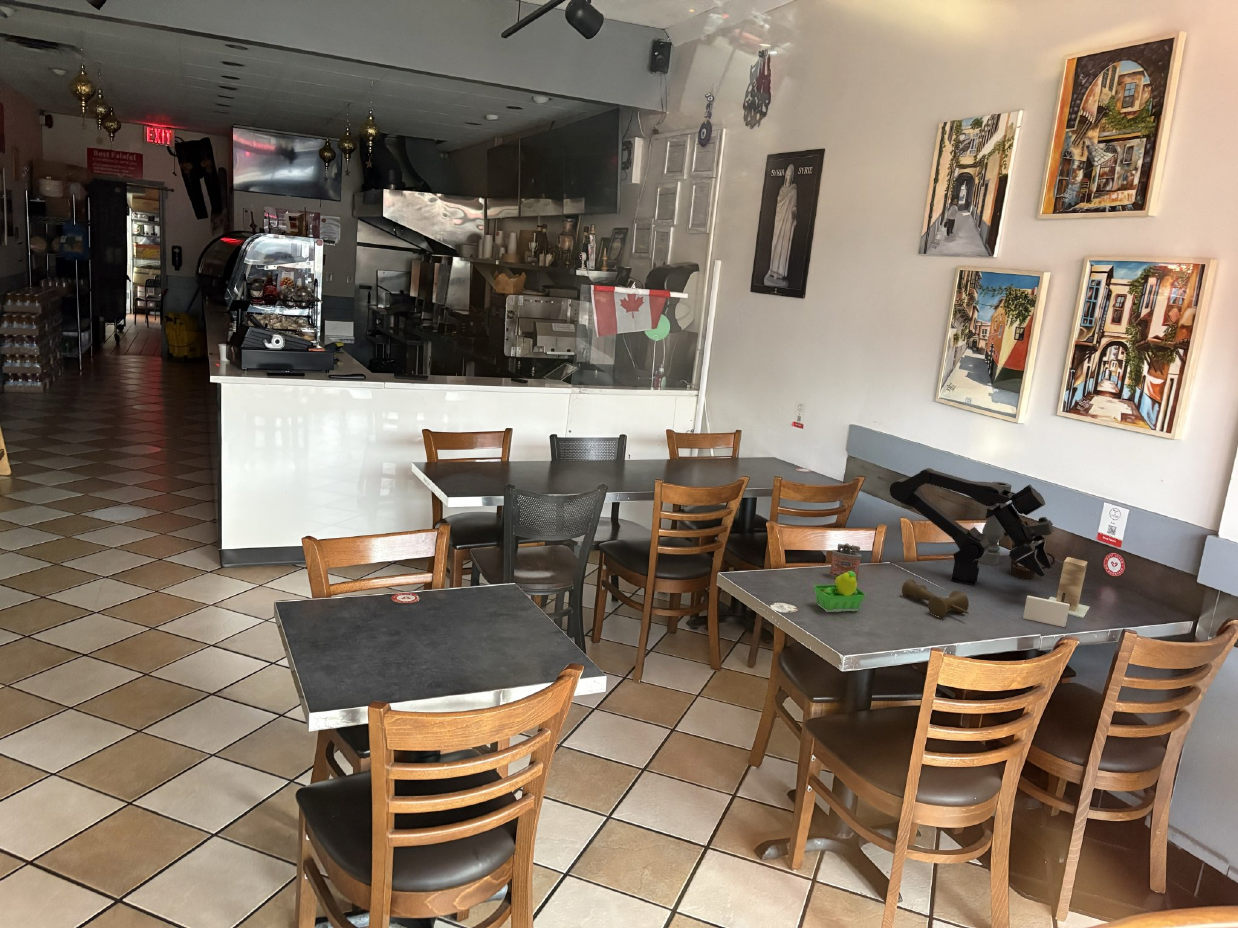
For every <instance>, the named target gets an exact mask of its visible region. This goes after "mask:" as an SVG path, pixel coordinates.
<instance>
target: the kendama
mask: <svg viewBox="0 0 1238 928" xmlns="http://www.w3.org/2000/svg"><path fill="white" fill-rule="evenodd" d="M901 594H902V596H903V597H905V596H906V597H905V598H910V597H912V598H914V600H916V601H917V602H918V601H919V602H920V601H922V600H923V601H928V603H927V607H928V611H929V613H930V614H931V613H932V614H934V615H936V616H939V617H941V618H944V616H945V615H946V614H947V612H950V611H953V612H954V613H957V612H958V613H957V614H969V611H968V609H969V606H970V605H969V604H970V603H969V597H968V596H967V594H966V593H965V592H964V591H963V592H962V590H958V589H957V590H953V591H952V592H951V593H950V594H949V596H948V597H947V598H943V597H941V596H936V594H933V593H932V592H930V591H929V590H928V589H927V587H926V585H922V584H921V585H919V584H918V583H917V582H916V581H915V580H914V579H912V578H910V579H906V581H905V582H904V583H903V585H902V587H901ZM932 614H931V615H932Z"/></svg>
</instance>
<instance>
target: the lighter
mask: <svg viewBox="0 0 1238 928" xmlns="http://www.w3.org/2000/svg"><path fill="white" fill-rule="evenodd" d="M857 552H861V546H859V545H853V544H852V545H850V544H849V543H844V544H843V543H838V544H837V549H832V552H831V554H832V556H831V557H832V558H831V562H830V570H829V573H828V576H829V577H830V578H832V579H836V578H837V577H838V576H840V575H842V574H844V573H847V572H848V571H852V572H854V573H855V574H856V582H858V581H859V573H860V564H861V559H862V558H863V557H862V554H861V553H857ZM857 580H858V581H857Z"/></svg>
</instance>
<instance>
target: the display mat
mask: <svg viewBox="0 0 1238 928" xmlns="http://www.w3.org/2000/svg"><path fill="white" fill-rule="evenodd" d="M1056 598H1057V597H1054V596H1049V598H1048V599H1047V600H1052V601H1056ZM1090 608H1091V607H1090V606H1088V605H1085V604H1084V605H1083V604H1081V603H1079V605H1078V607H1077V609H1076V611H1071V610H1069V611H1068V616H1069V615H1070V616H1073V617H1077V618H1081V619H1084V618H1085V615H1086V614H1087V613H1088V612H1089V609H1090Z"/></svg>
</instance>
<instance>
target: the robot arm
mask: <svg viewBox="0 0 1238 928" xmlns="http://www.w3.org/2000/svg"><path fill="white" fill-rule="evenodd" d="M927 484H928V485H932V486H935V487H939V488H942V489H944V490H949V491H952V492H954V493H959V494H962V495H965V496H968V497H969V498H971V499H972V500H974V501H976V502H977V503H979V504H981V505H982V506H986V507H988V508H987V509H986V514H985V516H984V517H985V519H986V520H987V519H988V518H989V517H991V516H994V517H995V518H996V520H997V521H998V523H999V524H1000V525H1001V527H1002V528H1003V536H1004V537H1008V539H1009V540H1010V541H1011V543H1012V542H1013V544H1014V545H1013V549H1012V548H1011V550H1010V551H1009V554H1008V557H1009V558H1010V560H1011V559H1012V561H1015V560H1016V561H1015V562H1016V563H1019V564H1021V565H1023V566H1024V567H1026V568H1028V569H1029V570H1031V571H1033V572H1034V573H1035V575H1037V576H1039V577H1044V576H1045V571H1044V569H1042V568H1041V567H1042V566H1041V565H1043V567H1046V568H1045V569H1047V570H1049V569H1052V565H1051V561H1050V559H1049V555H1047V553H1048V552H1047V551H1046V548H1045V547H1046V543H1047V536H1050V535H1052V534H1053V533H1054V531H1055V530H1054V528H1053V522H1052V521H1051V520H1050V519H1048V518H1047V517H1046V516H1042V517H1039V518H1038V521H1036V522H1034V523H1030V522H1029V521H1028V520H1027V519H1023V518H1022V517H1021V515H1024V516H1028V515H1030V514H1032V513H1033V512H1035V511H1037V510H1039V509H1040V508H1043V507H1044V506H1046V502H1045V498H1044V497H1043V496H1042V494H1041V493H1040V492H1039V491H1037V490H1036V489H1035V488H1034V487H1033V486H1032V484H1028V485H1026V486H1025V487H1023V489H1021V490H1019V491H1017V492H1013V491H1012V490H1011V491H1008V490H1005V489H1003V488H1002V486H1001V485H999V484H997V483H992V482H991V481H975V480H970V479H966V478H964V477H963V478H962V477H959V476H956V475H951V474H949V473H944V472H941V471H938V470H934V469H932V468H931V467H928V468H924V469H922V470H921V471H919V472H918V473H916V474H915V475H913V476H910V477H909V478H908V477H904V478H901V479H898V480H896V481H894V482H893V483H891V484H890V487H889V494H890V497H891V498H892V499H893V500H895V501H897V502H899V503H900V504H902V505H905V506H907V507H910V508H912V509H915V510H916V511H917V512H918V513H920V514H921V515H922V516H924V518H925V519H927V520H929V521H930V522H931V523H932V524H934V525H935V526H936V527H937V528H938V529H940V531H942V532H943V533H944V534H946V535H947V536H949V537H950V538H951V539H952V540H953V542H955V544H956V546H957V548H958V550H957V551H956V552H954V553H953V560H954V562H953V568H952V573H951V577H950V581H952V582H957V583H961V584H967V585H972V586H975V584H976V583H977V582H978V577H979V574H980V573H979V572H980V565H978V564H979V561H978V560H977V559H979V558H981V557H982V556H983V555H984V554H985V553H986V552H988V550H989V541H988V540H987V539H986V538H985V536H986V535H984V534H982V532H980V531H979V530H978V529H977V528H976V526H973V527H972V528H970V529H969V528H966V527H964V526H963V525H961V524H960V523H958V522H957V521H956V520H955V519H953V517H951V516H950V515H948V514H947V513H946V512H945V511H944V510H942V509H941V508H940V507H938V506H937V505H936V504H934V503H933V502H931V501H930V500H929V499H928V498H927V497H926V496H924V494H923V492H922V490H921V489H920V487H922V486H923V485H927ZM1009 501H1011V502H1009ZM1007 502H1009V503H1007ZM997 503H1000V505H998V506H996V507H995V508H991V506H993V505H995V504H997ZM1005 503H1006V504H1007V505H1006V506H1005V505H1003V504H1005Z"/></svg>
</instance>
